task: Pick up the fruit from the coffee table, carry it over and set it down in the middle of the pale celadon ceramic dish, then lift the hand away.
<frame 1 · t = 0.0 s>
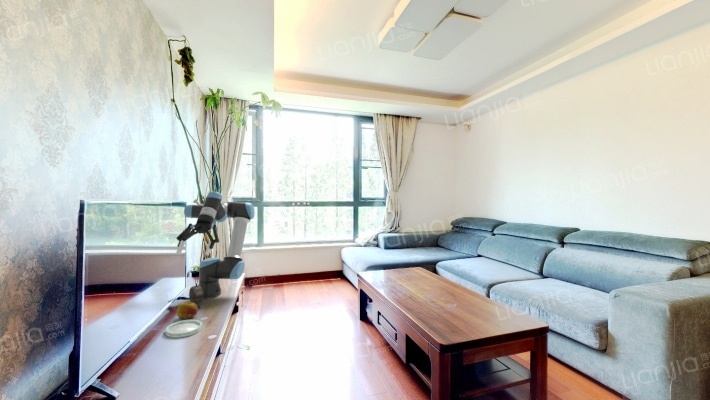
hand: (192, 254, 137), 36 cm above the tv stand, tool tilted 35°, fingers open, 13 cm apart
dish: (184, 329, 134), on the tv stand
alarm clock: (195, 307, 163), on the tv stand
fruit: (186, 318, 148), on the tv stand
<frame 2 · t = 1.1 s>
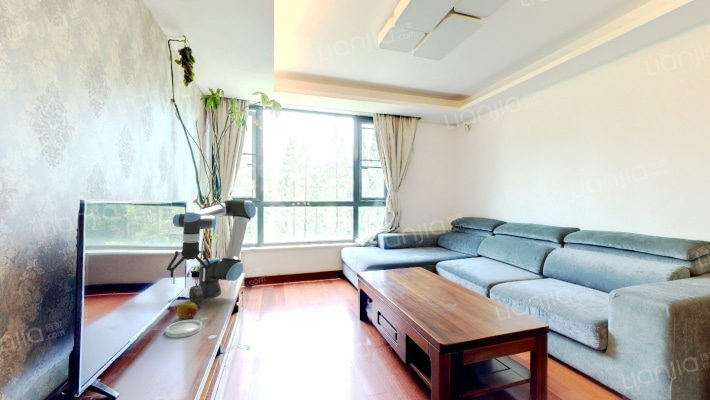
hand: (189, 282, 148), 19 cm above the tv stand, tool pointing down, fingers open, 13 cm apart
nothing on the tv stand moved.
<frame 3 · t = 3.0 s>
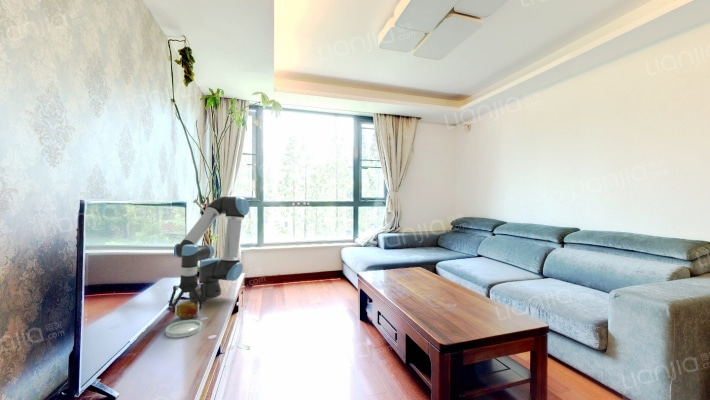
hand: (186, 316, 148), 0 cm above the tv stand, tool pointing down, fingers closed on fruit, 9 cm apart
fruit: (186, 318, 148), on the tv stand, touching gripper
everything else where it was.
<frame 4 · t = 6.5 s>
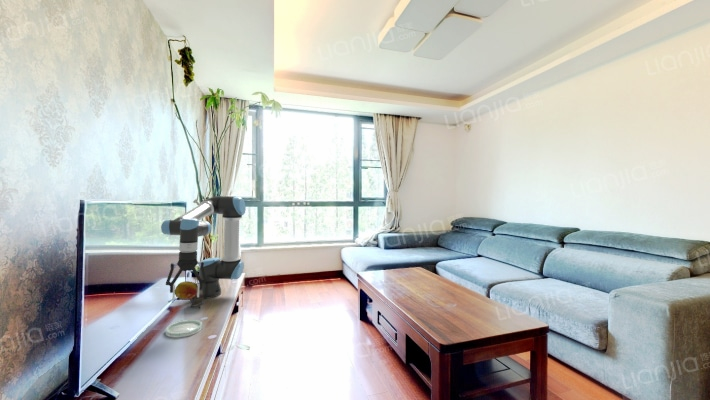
hand: (185, 297, 134), 15 cm above the tv stand, tool pointing down, fingers closed on fruit, 9 cm apart
fruit: (186, 299, 134), point 15 cm above the tv stand, touching gripper
everything else where it was.
when the fingers open (3 cm above the tv stand, at t = 9.5 s): fruit drops 2 cm, resting on dish.
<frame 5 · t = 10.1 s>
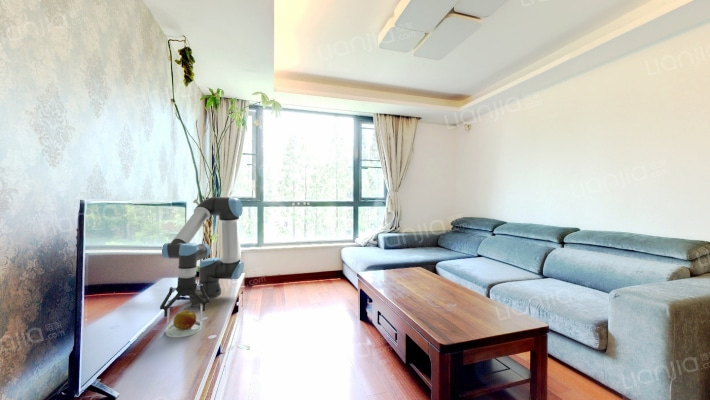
hand: (184, 320, 134), 4 cm above the tv stand, tool pointing down, fingers open, 13 cm apart
fruit: (184, 328, 134), point 1 cm above the tv stand, touching dish
everything else where it was.
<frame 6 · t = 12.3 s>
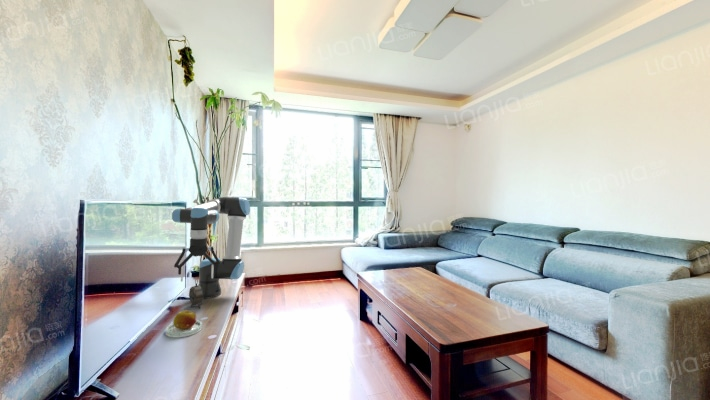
hand: (197, 279, 143), 22 cm above the tv stand, tool pointing down, fingers open, 13 cm apart
nothing on the tv stand moved.
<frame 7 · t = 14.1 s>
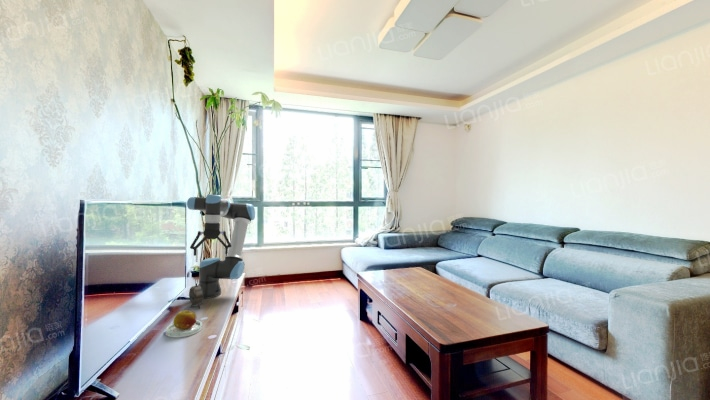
hand: (210, 260, 155), 29 cm above the tv stand, tool pointing down, fingers open, 13 cm apart
nothing on the tv stand moved.
at the end: fruit inside the target area on the dish (0.1 cm from its centre), point 0.6 cm above the dish's base; the gripper is holding nothing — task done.
